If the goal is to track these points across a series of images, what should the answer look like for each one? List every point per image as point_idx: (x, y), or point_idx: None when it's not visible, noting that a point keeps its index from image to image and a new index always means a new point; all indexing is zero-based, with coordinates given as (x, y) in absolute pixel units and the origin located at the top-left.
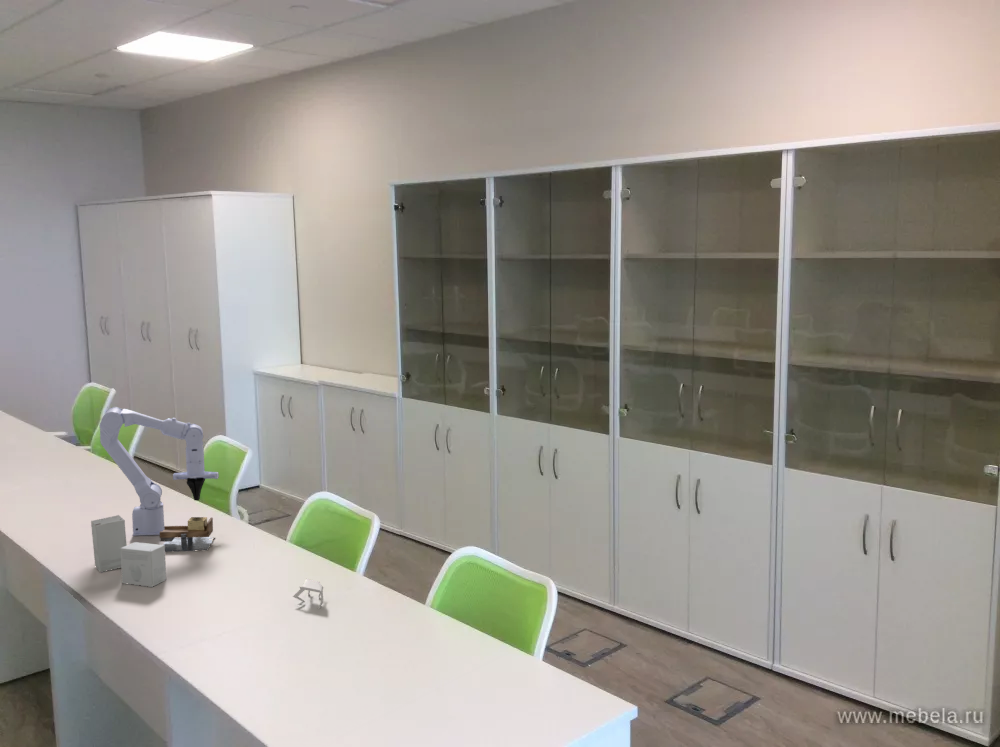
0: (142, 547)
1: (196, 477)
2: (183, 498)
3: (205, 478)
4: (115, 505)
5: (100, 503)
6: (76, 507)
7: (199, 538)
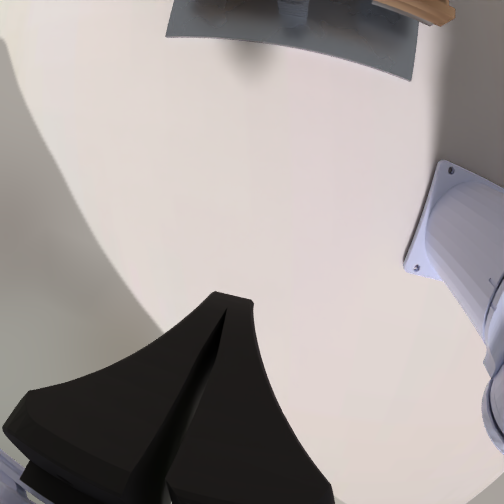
0: None
1: None
2: None
3: (15, 464)
4: (448, 450)
5: (462, 455)
6: None
7: (244, 21)
